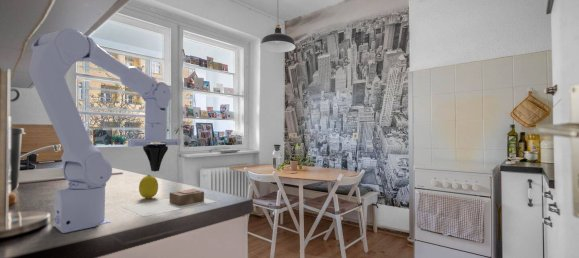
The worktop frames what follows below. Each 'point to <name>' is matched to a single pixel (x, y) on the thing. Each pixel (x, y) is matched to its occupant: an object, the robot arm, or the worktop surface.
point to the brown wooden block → (186, 197)
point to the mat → (160, 207)
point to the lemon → (148, 187)
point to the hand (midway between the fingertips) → (155, 170)
